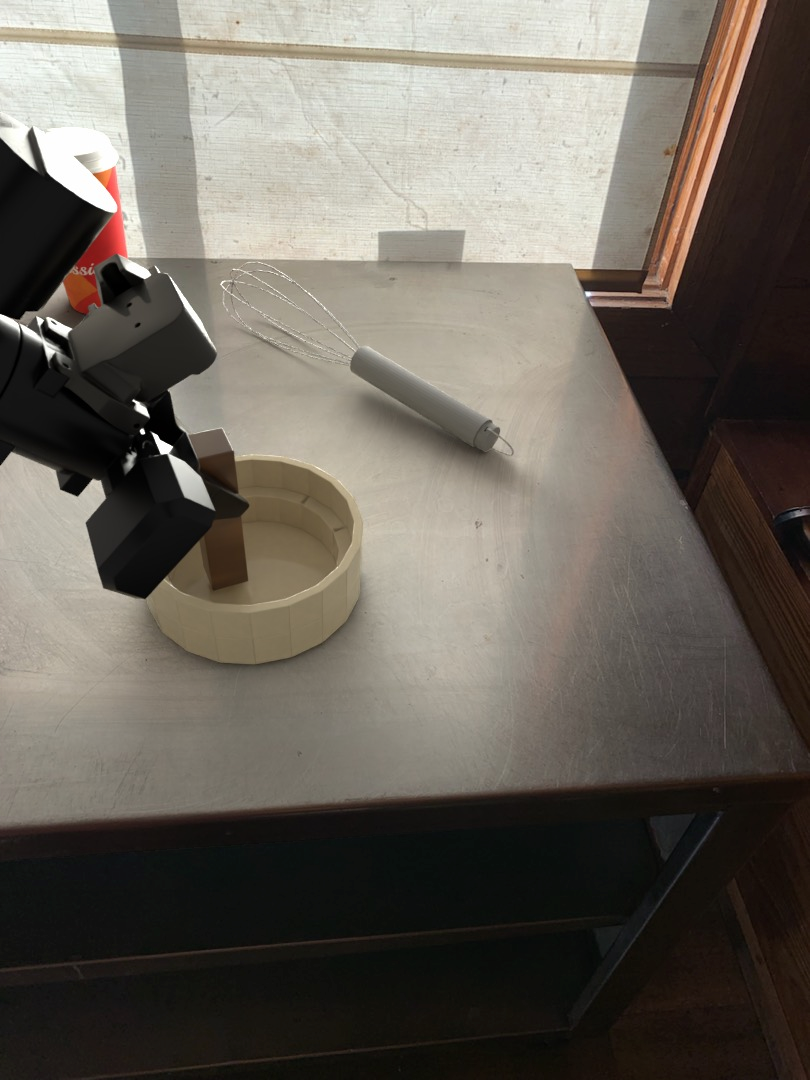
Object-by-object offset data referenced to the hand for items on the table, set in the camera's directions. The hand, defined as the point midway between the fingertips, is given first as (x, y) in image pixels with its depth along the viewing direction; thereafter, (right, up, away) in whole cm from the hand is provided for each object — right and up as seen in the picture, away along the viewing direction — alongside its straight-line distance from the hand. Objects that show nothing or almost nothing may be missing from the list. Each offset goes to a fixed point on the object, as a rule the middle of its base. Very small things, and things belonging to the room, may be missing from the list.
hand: (238, 495), depth 48 cm
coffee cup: (-20, +21, +31) cm, 42 cm away
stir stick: (-2, -5, +4) cm, 7 cm away
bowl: (0, -6, +6) cm, 8 cm away
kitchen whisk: (+6, +12, +24) cm, 28 cm away
